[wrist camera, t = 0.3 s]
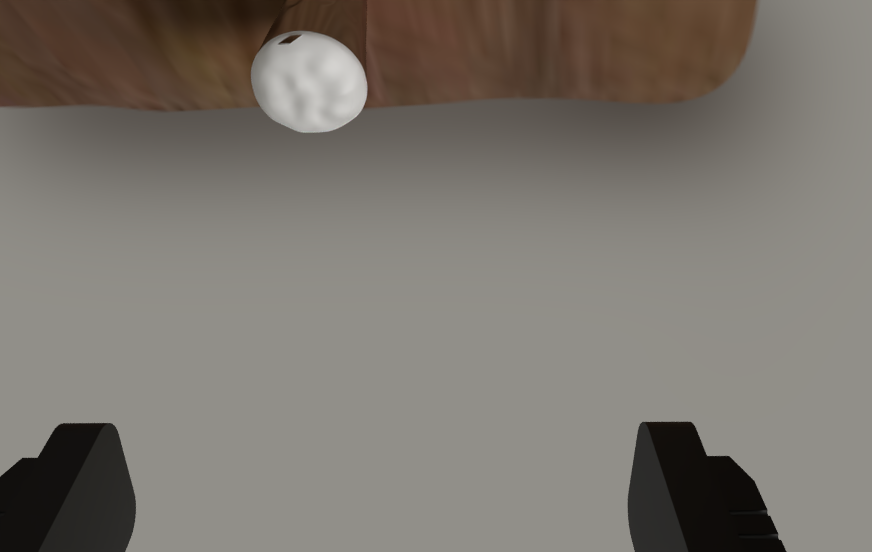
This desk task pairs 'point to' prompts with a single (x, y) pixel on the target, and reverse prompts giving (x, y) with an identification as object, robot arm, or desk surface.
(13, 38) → the desk surface
